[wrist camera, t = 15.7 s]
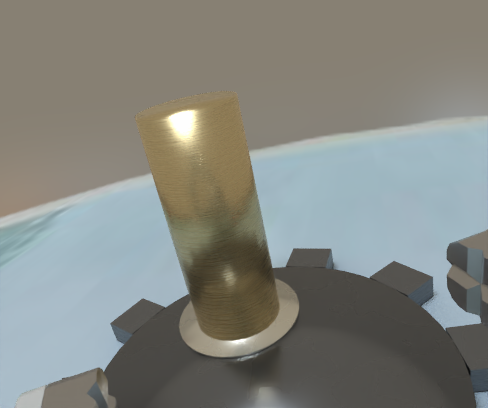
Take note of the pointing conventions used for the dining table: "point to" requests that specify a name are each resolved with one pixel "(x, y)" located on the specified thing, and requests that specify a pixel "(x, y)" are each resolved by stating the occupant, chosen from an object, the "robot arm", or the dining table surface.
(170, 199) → the pin
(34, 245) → the dining table surface
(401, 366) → the sprocket plate
